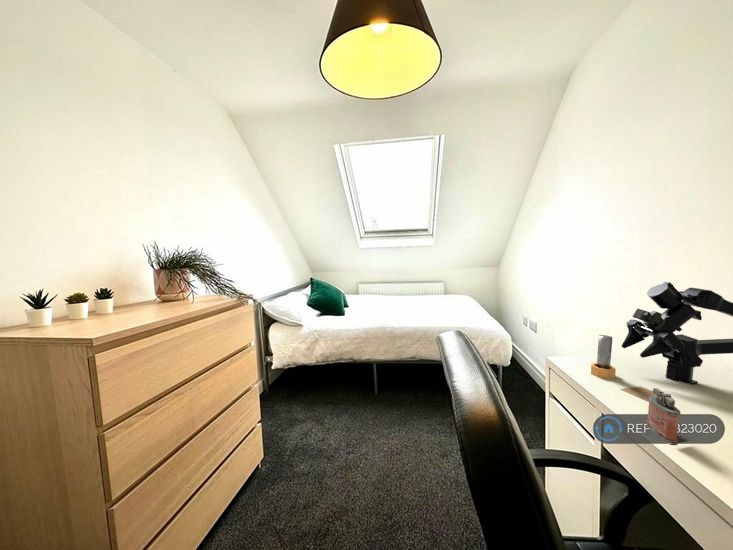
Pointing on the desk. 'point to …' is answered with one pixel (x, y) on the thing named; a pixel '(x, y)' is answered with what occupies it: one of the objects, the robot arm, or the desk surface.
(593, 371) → the socket plate
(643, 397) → the board
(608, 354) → the steel peg
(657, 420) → the lighter
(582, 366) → the desk surface
